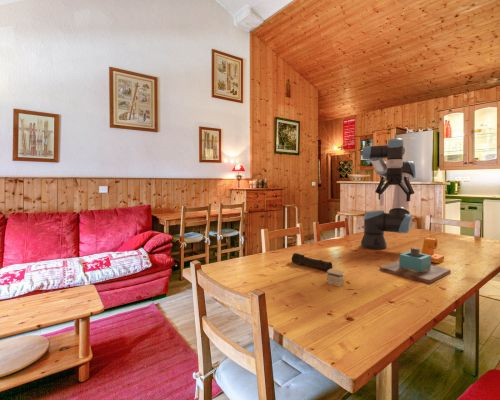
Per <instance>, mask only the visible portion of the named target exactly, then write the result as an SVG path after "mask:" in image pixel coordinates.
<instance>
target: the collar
mask: <svg viewBox="0 0 500 400" xmlns="http://www.w3.org/2000/svg"><path fill="white" fill-rule="evenodd" d="M421 253H422V252H420V255H419V258H418V257H413V256H411V250H410V251H406V252H403V253H400V254H399V259H398V260H399V267H402V268H406V269H410V270H414V271H418V272H423V271H425V270H427V269H429V268H431V265H432V262H431V255H426V254H421Z"/></svg>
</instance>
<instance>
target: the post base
mask: <svg viewBox="0 0 500 400" xmlns="http://www.w3.org/2000/svg"><path fill="white" fill-rule="evenodd" d="M410 251H411V256H413V257H418V258H419V255H420V253H421V251H420V248H416V247H411V248H410ZM379 271H382V272H386V273H389V274H393V275H396V276H399V277H403V278H409V279H411V280H415V279H416V280H415V281H418V280H419V282H422V281H423V283H426V284H432V283H433V282H436V281H439V280H440V279H441V278H443V277H445V276H447V275H449V274H452V273H451V269H450V268H445V267H440V266H436V265H432V264H431V268H429V269H427V270H425V271H423V272H418V271H414V270H410V269H406V268H402V267H399V259H398V260H395V261H391V262H390V263H387V264H385V265H382V266H379Z"/></svg>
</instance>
